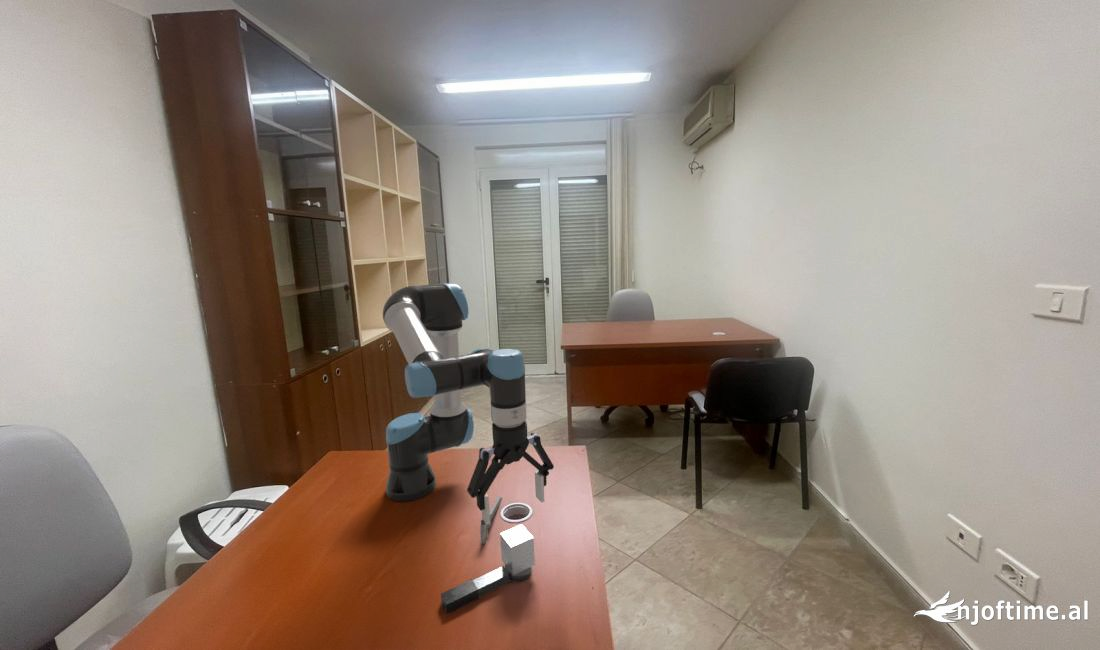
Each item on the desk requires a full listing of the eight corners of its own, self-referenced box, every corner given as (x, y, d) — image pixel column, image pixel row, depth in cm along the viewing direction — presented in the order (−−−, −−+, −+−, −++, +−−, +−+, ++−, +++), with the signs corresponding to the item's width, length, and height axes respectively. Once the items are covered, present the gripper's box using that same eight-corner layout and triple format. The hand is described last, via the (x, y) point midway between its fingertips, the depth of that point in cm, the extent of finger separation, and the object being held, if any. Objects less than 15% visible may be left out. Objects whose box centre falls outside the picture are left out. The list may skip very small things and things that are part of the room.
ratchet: (439, 598, 88) (437, 571, 87) (523, 558, 98) (522, 534, 97) (448, 618, 83) (446, 590, 82) (536, 574, 93) (534, 549, 92)
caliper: (485, 545, 104) (483, 523, 103) (481, 545, 104) (479, 523, 103) (502, 498, 124) (501, 479, 123) (498, 498, 124) (497, 479, 123)
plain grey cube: (501, 560, 95) (500, 533, 93) (523, 550, 98) (521, 524, 96) (512, 575, 90) (511, 547, 89) (534, 564, 93) (533, 537, 92)
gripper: (459, 443, 78) (467, 541, 82) (566, 413, 91) (569, 498, 95) (447, 429, 85) (455, 521, 89) (549, 403, 98) (552, 483, 101)
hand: (514, 509), depth 92 cm, fingers open, 13 cm apart
